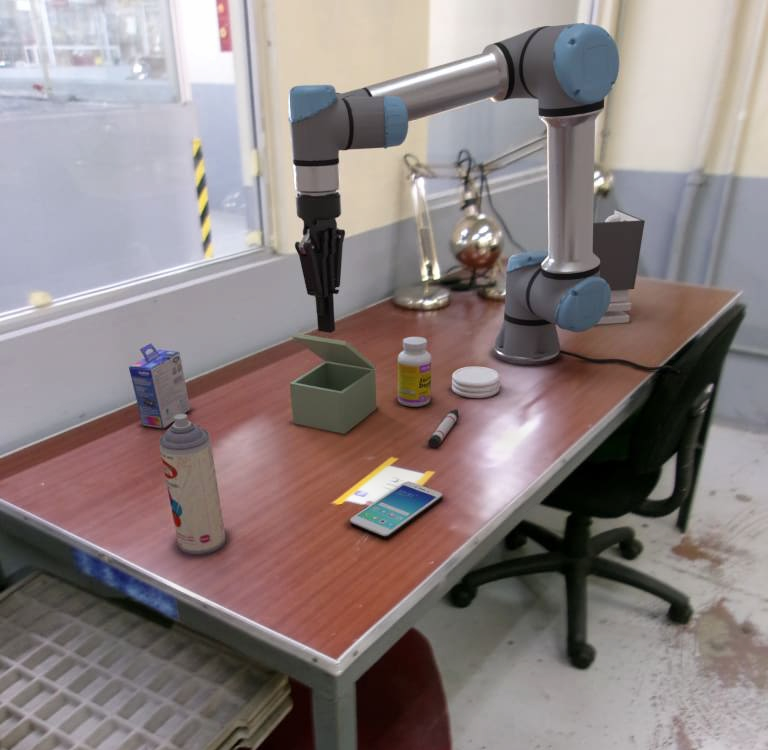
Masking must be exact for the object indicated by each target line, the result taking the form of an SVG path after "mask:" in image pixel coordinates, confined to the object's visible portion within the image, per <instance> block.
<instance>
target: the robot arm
mask: <svg viewBox="0 0 768 750" xmlns="http://www.w3.org/2000/svg"><path fill="white" fill-rule="evenodd" d="M619 71H620V56H619V50H618V46H617V44H616V42H615V40H614V37H613V36H612V35H611V34H610V33H609V32H608V31H607V30H606V29H605V28H603V27H602V26H600V25H598V24H597V25H596V24H589V23H584V22H578V23H577V22H575V23H571V24H560V25H542V26H538V27H534V28H532V29H528V30H526V31H524V32H521V33H518V34H516V35H514V36H510V37H508V38H505V39H503V40H500V41H498V42H494V43H490V44H488V45H486V46H485V47H484V48H483V50H482V51H481V53H479V54H475V55H471V56H468V57H464V58H461V59H458V60H457V59H456V60H454V61H450V62H446V63H443V64H441V65H437V66H433V67H429V68H426V69H423V70H419V71H415V72H412V73H409V74H405V75H402V76H398V77H394V78H391V79H388V80H384V81H381V82H377V83H373V84H370V85H367V86H364V87H361V88H357V89H353V90H349V91H346V92H342V93H341V92H336V88H335V86H334V85H332V84H307V85H306V84H301V85H295V86H293V87H291V88H290V90H289V92H288V122H289V133H290V141H291V142H290V143H291V152H292V153H291V154H292V164H293V176H294V189H295V190H296V191H297V194H296V195H295V207H296V208H295V210H296V216H297V217H298V218H299V219H301V220H302V221H303V226H302V236H303V237H302V238H301V240H300V241H295V242H294V248H295V250H296V253H297V254H298V256H299V262H300V266H301V267H300V268H301V271H302V277H303V280H304V285H305V289H306V294H307V296H312V297H314V298H315V310H316V311H315V313H316V319H317V320H316V321H317V331H318V332H322V333H328V334H331V333H334V332H335V331H336V325H335V323H336V321H335V301H334V295H338V294H339V292H340V290H339V289H337V288H340V287H341V278H342V277H341V275H342V263H343V247H344V241H345V236H346V231H345V229H341V228H339V227H338V223H337V218H339V217H340V216H341V215H342V198H341V197H342V196H341V194H340V192H339V191H338V190H340V189H341V176H340V157H339V155H340V151H348V150H349V151H350V150H351V151H352V150H367V149H369V150H370V149H388V148H393V147H400V146H402V144H403V143H405V141H406V138H407V136H408V131H409V123H413V122H416V121H419V120H422V119H426V118H429V117H430V118H431V117H433V116H436V115H439V114H443V113H445V112H450V111H452V110H453V111H454V110H456V109H460V108H463V107H466V106H470V105H473V104H476V103H479V102H483V101H487V100H490V101H492V102H494V103H501V102H503V101H507V100H512V99H515V100H516V99H532V100H537V102H538V104H537V107H538V119H540V120H541V121H542V122H543V123H544V124H545V125H546V139H547V140H546V141H547V142H546V143H547V144H546V145H547V146H546V147H547V150H546V151H547V220H548V221H547V227H548V228H547V231H548V250H543V251H542V250H540V251H527V252H525V251H524V252H519V253H515V254H513V255H511V256H510V257H509V258H508V260H507V267H506V271H505V274H506V281H505V296H504V310H503V312H504V313H503V322H502V324H501V327H500V329H499V332H498V333H497V336H496V338H495V342H494V344H493V355H494V357H495V358H496V359H498V360H499V361H502V362H504V363H508V364H511V365H518V366H543V365H547V364H551V363H554V362H557V361H558V360H559V358H560V357H561V354H562V355H566V356H570V357H573V358H577V359H580V360H582V361H586V362H590V363H621V364H626V365H630V366H632V367H634V368H637V369H641V370H645V371H660V370H667V369H668V370H672V371H674V372H675V373H676V374H681V372H680V370H679V369H678V370H675V369H674V368H671V367H672V366H673V365H659V366H645V365H641V364H638V363H636V362H633V361H631V360H626V359H623V358H622V359H620V358H591V357H586V356H583V355H580V354H577V353H574V352H570V351H566V350H562V349H561V343H560V339H559V335H558V329H557V327H558V328H560V329H561V330H565V331H569V332H571V333H581V332H585V331H588V330H590V329H592V328H594V326H596V325H598V324H597V323H598V322H599V321H600V319H601V317H603V316H604V315H605V313H606V311H607V309H608V307H609V304H610V300H611V290H610V287H609V285H608V283H606V281H605V280H604V279H603V278H601V277H600V259H599V258H598V257H597V256H596V255H595V254H594V253H593V223H594V201H595V199H594V198H595V197H594V196H595V195H594V194H595V154H596V153H595V151H596V150H595V147H596V146H595V145H596V120H597V118H598V117H599V116H600V114H601V113H602V112H603V111H604V109H605V98H606V97H607V96H608V95H609V94H610V93H611V91H612V90H613V85H614V84H616V82H617V80H618V76H619Z"/></svg>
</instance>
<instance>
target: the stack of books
mask: <svg viewBox="0 0 768 750" xmlns="http://www.w3.org/2000/svg"><path fill="white" fill-rule="evenodd" d="M644 229H645V220H644V219H642V218H640V217H636V216H634V215H632V214H630V213H627V212H624V211H622V210H620V209H614V212H613V214H612V215H609V216H608V217H607V218H606V219H605V220H604V221H603V222H602V221H600V222H599V221H598V222H597V221H596V222H593V253H594V254H595V255H596V256H597V257H598V258H599V259H600V277H601V278H603V279H604V280H605V281H606V283H608V285H609V287H610V290H611V300H610V304H609V307H608V309H607V311H606V313H605V315H604V316H603V317H601V319H600V321H599V322H598V323H597V324H596V325H609V324H623V323H625V324H626V323H630V317H631V315H628V314H627V313H625V311H631V310H632V303H631V302H629V301H628V298H629V297H630V295H629V293H630V292H629V290H630V291H631V290H635V285H636V279H637V272H638V267H639V260H640V256H641V255H640V253H641V248H642V242H643V235H644Z"/></svg>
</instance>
